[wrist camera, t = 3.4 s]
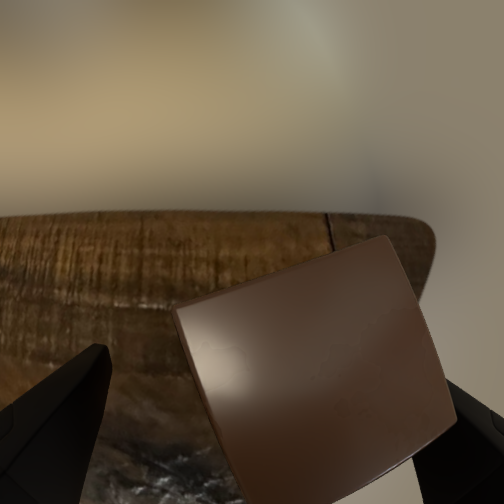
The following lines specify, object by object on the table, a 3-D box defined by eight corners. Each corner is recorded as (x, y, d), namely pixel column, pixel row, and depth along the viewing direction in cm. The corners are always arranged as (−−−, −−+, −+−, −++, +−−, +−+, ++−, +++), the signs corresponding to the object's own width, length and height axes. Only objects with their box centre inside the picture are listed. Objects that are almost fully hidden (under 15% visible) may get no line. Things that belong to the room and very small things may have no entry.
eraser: (289, 408, 16) (492, 483, 3) (228, 430, 15) (274, 612, 2) (251, 311, 18) (354, 132, 4) (191, 331, 17) (106, 190, 4)
